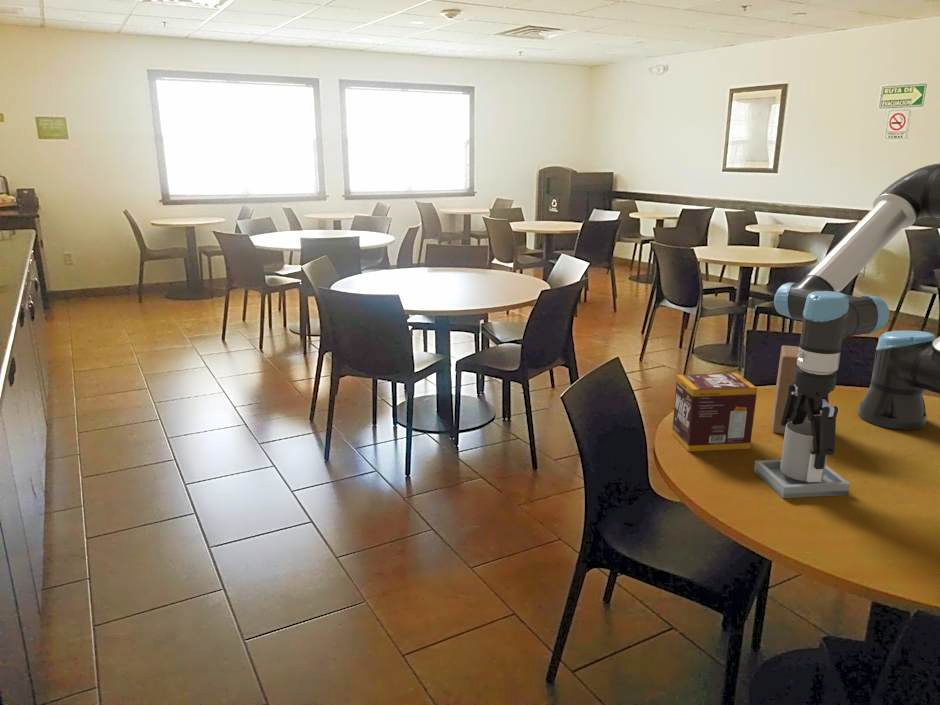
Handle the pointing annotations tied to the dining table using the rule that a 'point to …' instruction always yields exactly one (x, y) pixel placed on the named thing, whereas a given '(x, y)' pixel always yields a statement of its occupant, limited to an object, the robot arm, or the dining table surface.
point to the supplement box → (714, 411)
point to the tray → (800, 482)
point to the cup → (797, 450)
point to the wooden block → (784, 385)
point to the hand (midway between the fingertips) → (801, 470)
